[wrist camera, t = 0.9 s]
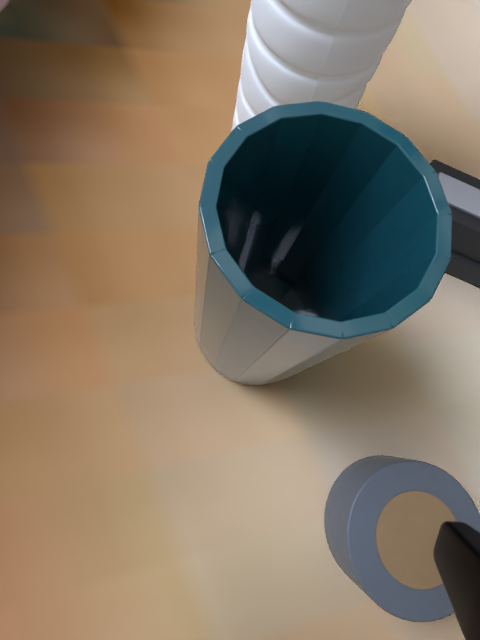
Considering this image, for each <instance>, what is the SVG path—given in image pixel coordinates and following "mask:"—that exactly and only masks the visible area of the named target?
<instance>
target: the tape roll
mask: <svg viewBox="0 0 480 640" xmlns="http://www.w3.org/2000/svg"><path fill="white" fill-rule="evenodd" d="M444 521H463V522H465V523H467V524H468V525H470V526H471V527H473V528H474V529H476V530H477V531H479V532H480V515H479V513H478V510H477V508H476V506H475V504H474V502H473V500H472V499H471V497H470V496H469V494H468V493H467V491H466V490H465V489H464V488H463V487H462V485H461V484H460V483H459V482H458V481H457V480H456V479H455V478H453V477H452V476H451V475H450V474H448V473H447V472H445V471H444V470H442V469H440V468H438V467H436V466H434V465H431V464H429V463H425V462H421V461H415V460H409V459H403V458H397V457H391V456H383V455H382V456H371V457H366V458H364V459H361V460H359V461H357V462H355V463H353V464H352V465H350V466H349V467H348V468H346V469H345V470H344V471H343V472H342V473H341V474H340V476H339V477H338V478H337V480H336V481H335V483H334V485H333V486H332V488H331V491H330V493H329V496H328V499H327V503H326V508H325V532H326V537H327V541H328V544H329V548H330V550H331V552H332V555H333V557H334V558H335V560H336V562H337V563H338V565H339V566H340V568H341V569H342V570H343V571H344V573H345V574H346V575H347V576H348V577H349V578H350V579H351V580H352V581H354V582H355V583H356V584H357V585H358V586H359V587H360V588H361V589H362V590H363V591H364V592H365V593H366V594H367V595H368V596H369V597H370V598H371V599H372V600H373V601H374V602H375V603H376V604H377V605H378V606H380V607H381V608H382V609H384V610H385V611H387V612H388V613H390V614H392V615H394V616H396V617H399V618H401V619H404V620H409V621H413V622H429V621H435V620H439V619H442V618H444V617H447V616H449V615H451V614H452V613H454V610H453V607H452V605H451V602H450V600H449V597H448V595H447V592H446V590H445V587H444V585H443V582H442V580H441V577H440V574H439V572H438V569H437V567H436V564H435V561H434V557H433V549H434V546H435V542H436V539H437V536H438V532H439V529H440V526H441V524H442V523H443V522H444Z"/></svg>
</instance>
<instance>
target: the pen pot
mask: <svg viewBox="0 0 480 640" xmlns="http://www.w3.org/2000/svg"><path fill="white" fill-rule="evenodd" d="M451 251H452V212H451V209H450V207H449V204H448V201H447V199H446V196H445V193H444V191H443V188H442V185H441V183H440V180H439V177H438V175H437V173H436V172H435V170H434V168H433V167H432V166H431V165H430V164H429V162H428V161H427V160H426V159H425V158H424V157H423V155H422V154H421V153H420V152H419V151H418V150H417V148H416V147H415V146H414V145H413V144H412V142H411V141H410V140H409V139H408V138H407V137H405V135H404V134H402V133H400V132H399V131H397V130H395V129H394V128H392V127H390V126H389V125H387V124H386V123H384V122H382V121H381V120H379V119H377V118H376V117H374V116H372V115H371V114H369V113H368V112H366V113H365V111H362V110H358V109H353V108H349V107H345V106H341V105H336V104H332V103H328V102H324V101H321V102H320V101H313V102H304V103H294V104H284V105H277V106H273V107H271V108H269V109H267V110H266V111H264V112H262V113H260V114H258V115H256V116H254V117H252V118H250V119H248V120H246V121H245V122H243V123H241V124H239V125H237V126H236V127H235V128H234V129H233V130H232V132H231V133H230V134H229V136H228V137H227V138H226V139H225V141H224V142H223V143H222V144H221V146H220V147H219V148H218V150H217V151H216V152H215V153H214V155H213V156H212V157H211V159H210V160H209V162H208V165H207V169H206V174H205V178H204V183H203V188H202V192H201V197H200V201H199V212H198V238H197V265H196V291H195V318H194V324H195V331H196V338H197V341H198V345H199V347H200V349H201V352H202V354H203V355H204V357H205V359H206V360H207V361H208V362H209V364H210V365H211V366H212V367H213V368H214V369H215V370H216V371H217V372H219V373H220V374H221V375H223V376H225V377H226V378H228V379H230V380H233V381H235V382H238V383H242V384H247V385H265V384H270V383H273V382H276V381H280V380H284V379H286V378H288V377H290V376H292V375H294V374H296V373H299V372H301V371H303V370H305V369H307V368H309V367H312V366H314V365H316V364H318V363H320V362H322V361H324V360H327V359H329V358H331V357H333V356H335V355H337V354H340V353H342V352H344V351H346V350H348V349H350V348H352V347H355V346H357V345H359V344H361V343H363V342H365V341H368V340H370V339H372V338H374V337H376V336H378V335H380V334H383V333H385V332H387V331H389V330H391V329H393V328H395V327H396V326H398V325H399V324H400V323H402V322H403V321H404V320H406V319H407V318H408V317H410V316H411V315H412V314H414V313H415V312H416V311H418V310H419V309H420V308H422V307H423V306H424V305H425V304H427V303H428V302H429V301H430V300H431V299H432V297H433V295H434V293H435V291H436V289H437V287H438V285H439V283H440V281H441V279H442V277H443V275H444V273H445V271H446V269H447V267H448V265H449V263H450V261H451V260H450V259H451Z"/></svg>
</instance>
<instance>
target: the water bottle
mask: <svg viewBox="0 0 480 640" xmlns="http://www.w3.org/2000/svg"><path fill="white" fill-rule="evenodd" d="M411 1H412V0H251V8H250V11H249V15H248V20H247V37H246V40H245V44H244V49H243V56H242V64H241V77H240V81H239V85H238V91H237V102H236V107H235V112H234V118H233V125H232V130H233V129H234V128H235V127H236V126H237V125H239V124H241V123H243V122H245V121H246V120H248V119H250V118H252V117H254V116H256V115H258V114H260V113H262V112H264V111H266V110H267V109H269V108H271V107H273V106H277V105H284V104H294V103H304V102H313V101H320V102H321V101H324V102H328V103H332V104H336V105H341V106H345V107H349V108H353V109H356V107H357V105H358V103H359V101H360V100H361V98H362V96H363V93H364V91H365V88H366V84H367V83H368V82H369V81H370V79H371V78H372V76H373V75H374V73H375V71H376V69H377V67H378V65H379V63H380V60H381V58H382V55H383V53H384V51H385V50H386V48H387V47H388V45H389V44H390V42H391V40H392V38H393V37H394V35H395V33H396V31H397V29H398V27H399V25H400V23H401V20H402V18H403V16H404V13H405V10H406V8H407V7H408V5H409V4H410V3H411Z"/></svg>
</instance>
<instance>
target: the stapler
mask: <svg viewBox="0 0 480 640" xmlns="http://www.w3.org/2000/svg"><path fill="white" fill-rule="evenodd" d="M430 165H431V166H432V167H433V168H434V170H435V172H436V173H437V175H438V177H439V180H440V183H441V185H442V188H443V191H444V193H445V196H446V199H447V201H448V204H449V207H450V209H451V212H452V251H451V259H450V260H451V261H450V263H449V265H448V267H447V269H446V271H445V272H446V273H449V274H451V275H453V276H455V277H457V278H460V279H462V280H464V281H466V282H469V283H471V284H473V285H475V286H478V287H480V180H479V179H477V178H475V177H472V176H470V175H468V174H466V173H463V172H461V171H459V170H457V169H455V168H452V167H450V166H448V165H446V164H443V163H441V162H439V161H437V160H433V161H432V162H431V163H430Z"/></svg>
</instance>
